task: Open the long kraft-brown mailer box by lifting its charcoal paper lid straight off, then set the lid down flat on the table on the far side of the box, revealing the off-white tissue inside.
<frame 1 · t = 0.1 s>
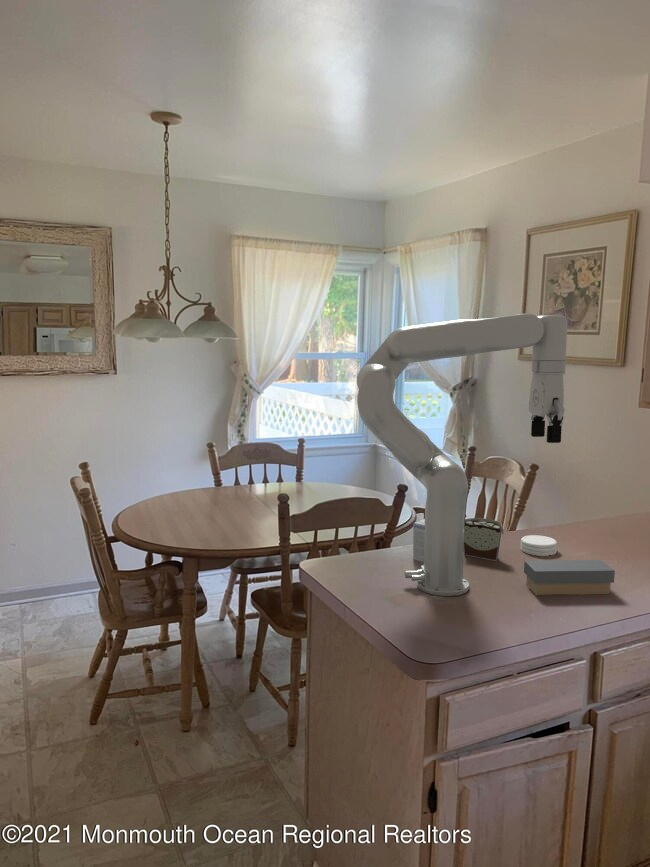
hand: (545, 439, 152), 37 cm above the table, tool pointing down, fingers open, 9 cm apart
food container: (483, 555, 180), on the table
light bulb box: (432, 558, 178), on the table
mailer box: (567, 590, 155), on the table, touching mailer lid
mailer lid: (567, 577, 154), point 3 cm above the table, touching mailer box
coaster: (538, 552, 183), on the table
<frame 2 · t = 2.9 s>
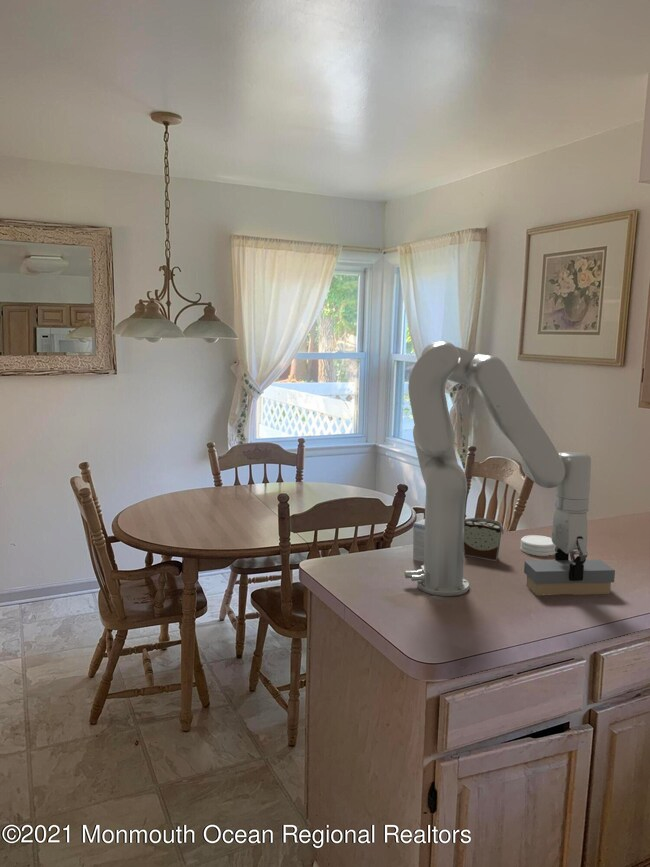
hand: (568, 573, 154), 4 cm above the table, tool pointing down, fingers closed on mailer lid, 7 cm apart
mailer box: (567, 590, 154), on the table
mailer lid: (568, 577, 154), point 3 cm above the table, touching gripper
everything else where it was.
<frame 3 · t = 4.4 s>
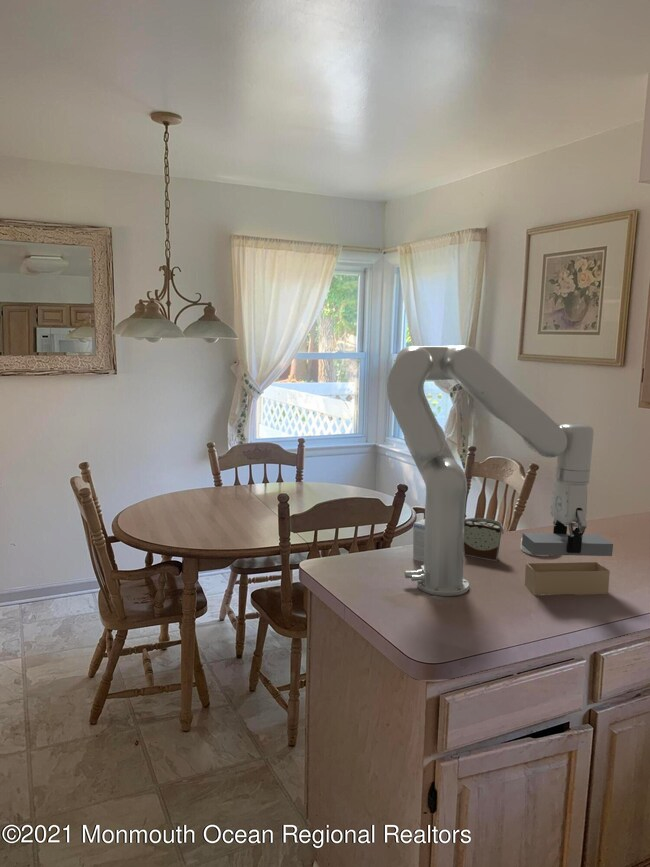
hand: (566, 546, 153), 11 cm above the table, tool pointing down, fingers closed on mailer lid, 7 cm apart
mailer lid: (565, 550, 153), point 10 cm above the table, touching gripper
everything else where it was.
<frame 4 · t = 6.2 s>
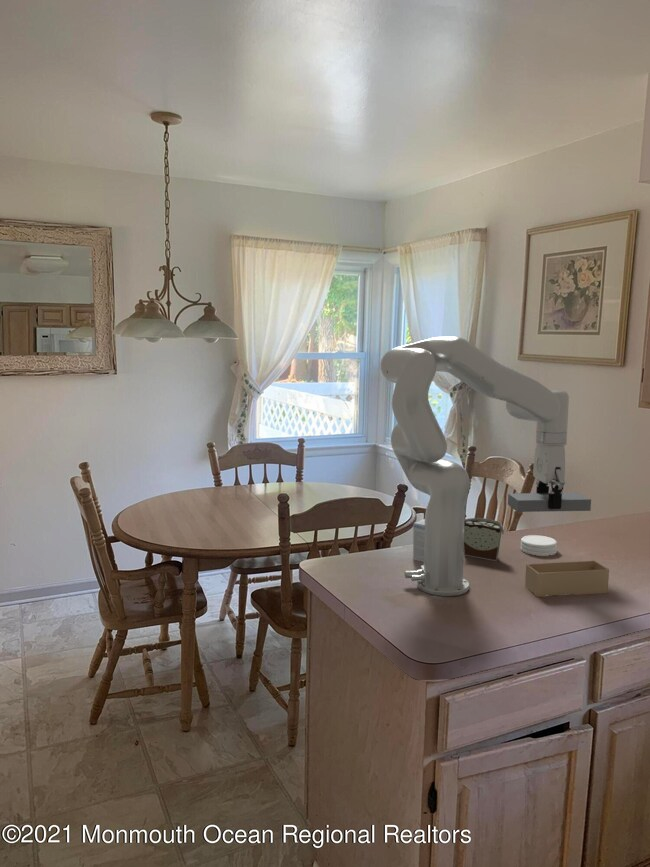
hand: (548, 504, 166), 18 cm above the table, tool pointing down, fingers closed on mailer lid, 7 cm apart
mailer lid: (548, 507, 166), point 17 cm above the table, touching gripper
everything else where it was.
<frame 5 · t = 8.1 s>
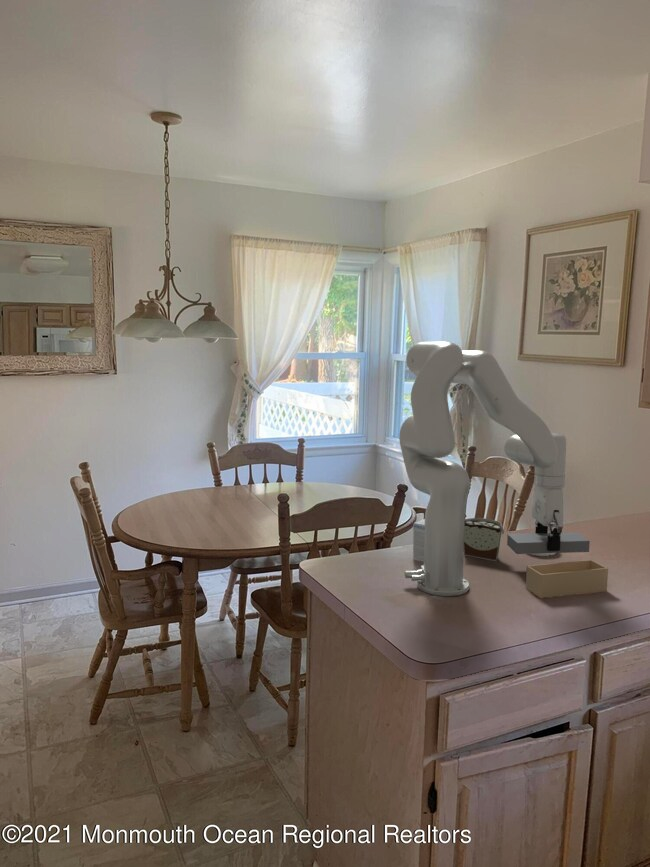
hand: (547, 545, 168), 7 cm above the table, tool pointing down, fingers closed on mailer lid, 7 cm apart
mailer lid: (547, 548, 168), point 6 cm above the table, touching gripper
when the fingers open (2 cm above the table, at t = 9.6 s): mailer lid drops 1 cm, on the table.
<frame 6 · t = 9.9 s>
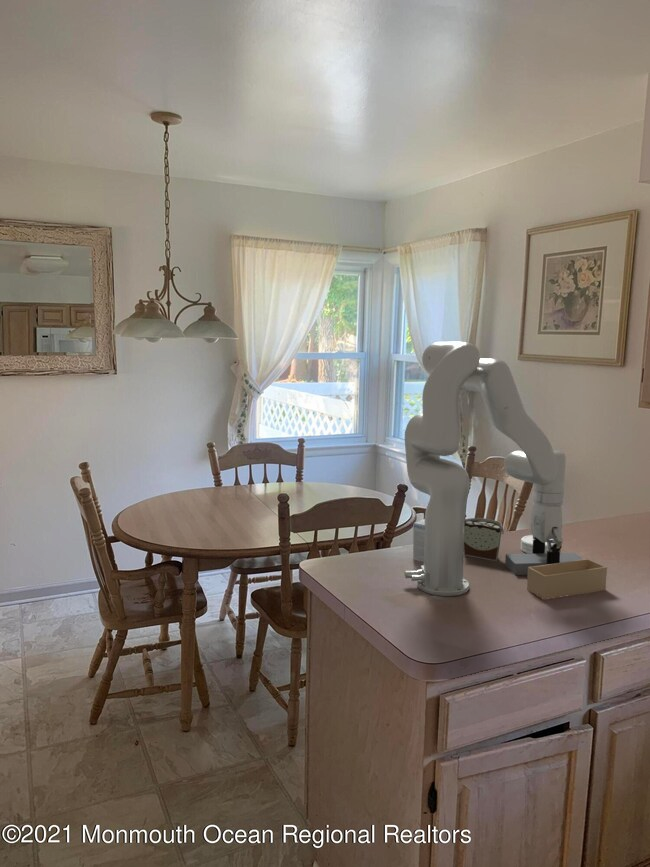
hand: (545, 559, 168), 2 cm above the table, tool pointing down, fingers open, 9 cm apart
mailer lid: (545, 568, 168), on the table
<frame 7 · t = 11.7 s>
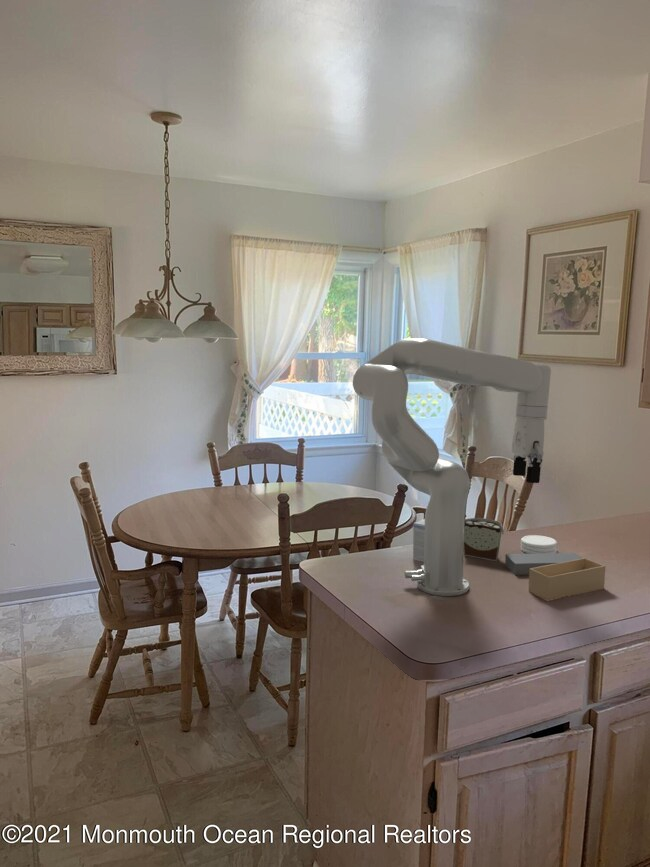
hand: (525, 478, 162), 25 cm above the table, tool pointing down, fingers open, 9 cm apart
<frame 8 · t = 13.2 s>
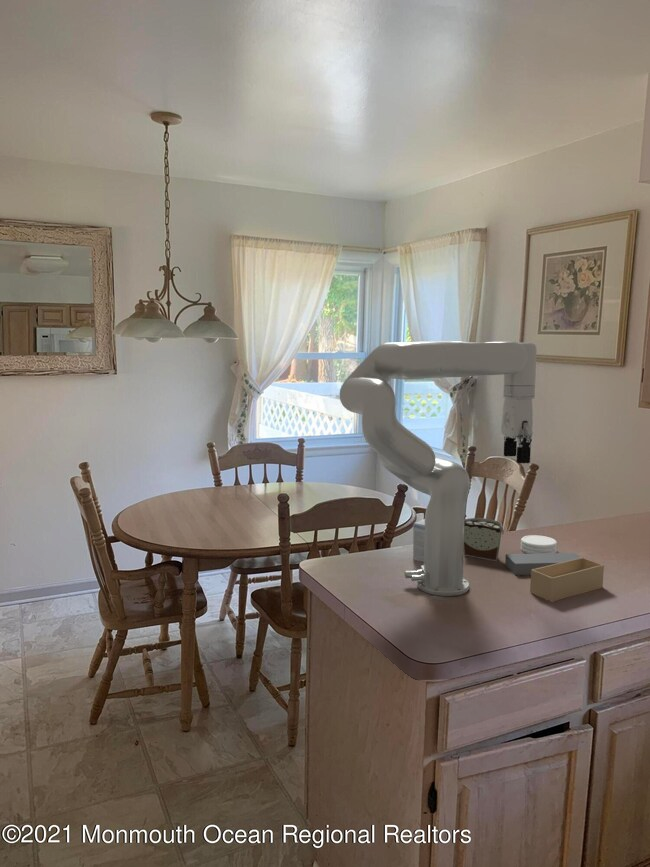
hand: (516, 459, 161), 30 cm above the table, tool pointing down, fingers open, 9 cm apart
at the end: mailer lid inside the target area (0.0 cm from its centre), on the table; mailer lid touching table; mailer box moved 0.7 cm from its start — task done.
